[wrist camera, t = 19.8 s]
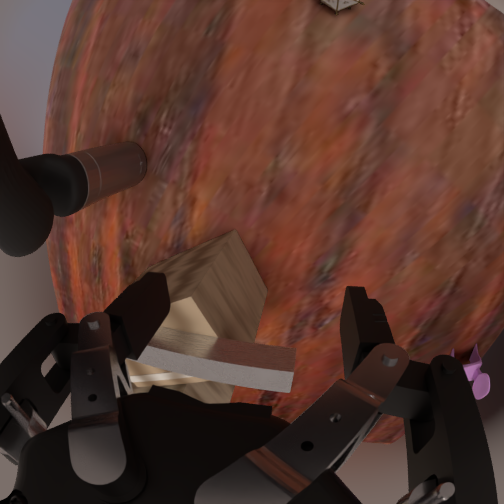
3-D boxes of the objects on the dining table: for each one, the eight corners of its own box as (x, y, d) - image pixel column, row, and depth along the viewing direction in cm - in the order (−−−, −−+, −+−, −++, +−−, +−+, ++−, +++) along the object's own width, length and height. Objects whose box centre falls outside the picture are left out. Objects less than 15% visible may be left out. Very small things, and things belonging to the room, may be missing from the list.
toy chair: (452, 345, 54) (470, 389, 41) (478, 340, 52) (498, 380, 39) (443, 367, 58) (458, 410, 44) (468, 362, 56) (485, 401, 42)
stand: (187, 359, 70) (136, 462, 41) (128, 276, 62) (37, 370, 33) (291, 336, 61) (270, 476, 31) (235, 229, 52) (150, 360, 23)
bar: (129, 338, 38) (116, 355, 35) (123, 317, 36) (108, 334, 33) (292, 369, 34) (289, 392, 31) (296, 348, 33) (293, 372, 29)
